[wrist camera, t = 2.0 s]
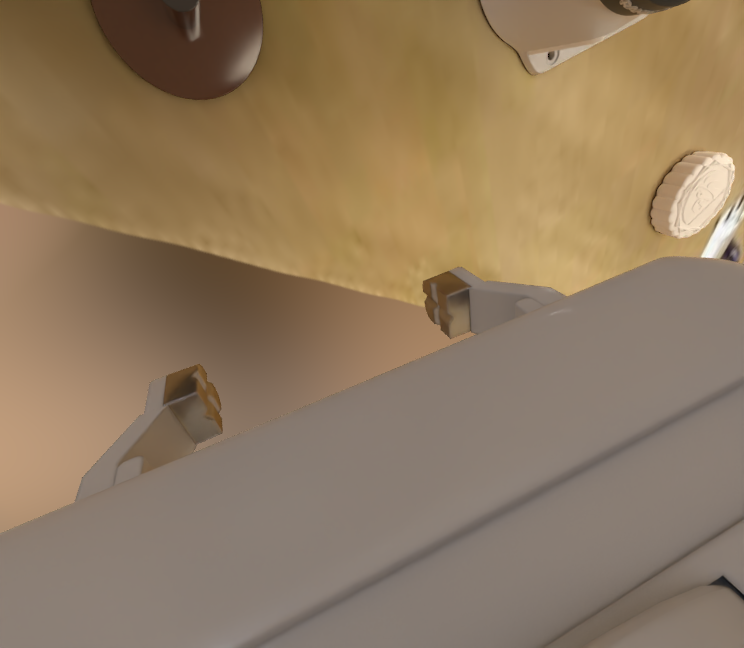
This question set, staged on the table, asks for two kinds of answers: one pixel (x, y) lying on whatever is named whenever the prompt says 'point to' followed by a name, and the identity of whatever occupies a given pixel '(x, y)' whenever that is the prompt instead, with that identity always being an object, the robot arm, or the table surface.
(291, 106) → the table surface
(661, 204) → the mooncake
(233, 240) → the table surface
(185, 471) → the robot arm
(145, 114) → the table surface
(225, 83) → the lid
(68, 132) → the table surface
